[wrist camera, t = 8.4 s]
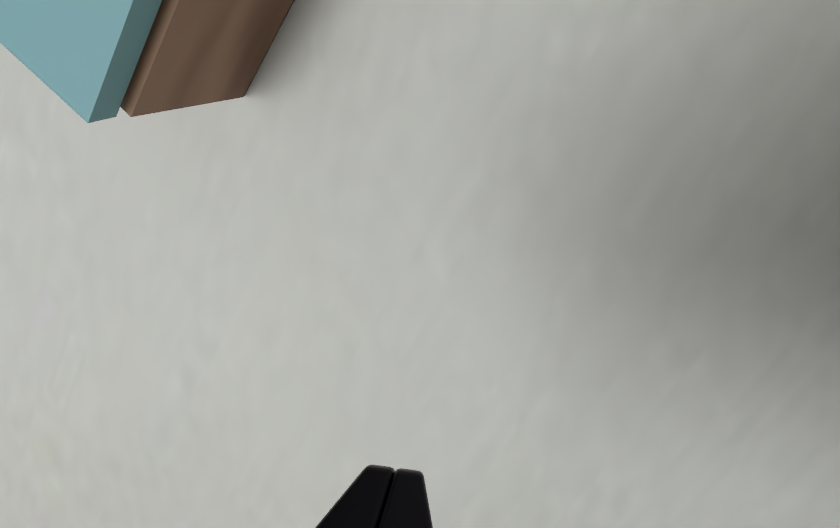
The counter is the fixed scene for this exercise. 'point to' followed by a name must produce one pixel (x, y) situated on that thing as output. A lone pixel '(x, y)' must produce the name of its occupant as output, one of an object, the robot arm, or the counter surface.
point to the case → (202, 52)
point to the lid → (80, 47)
